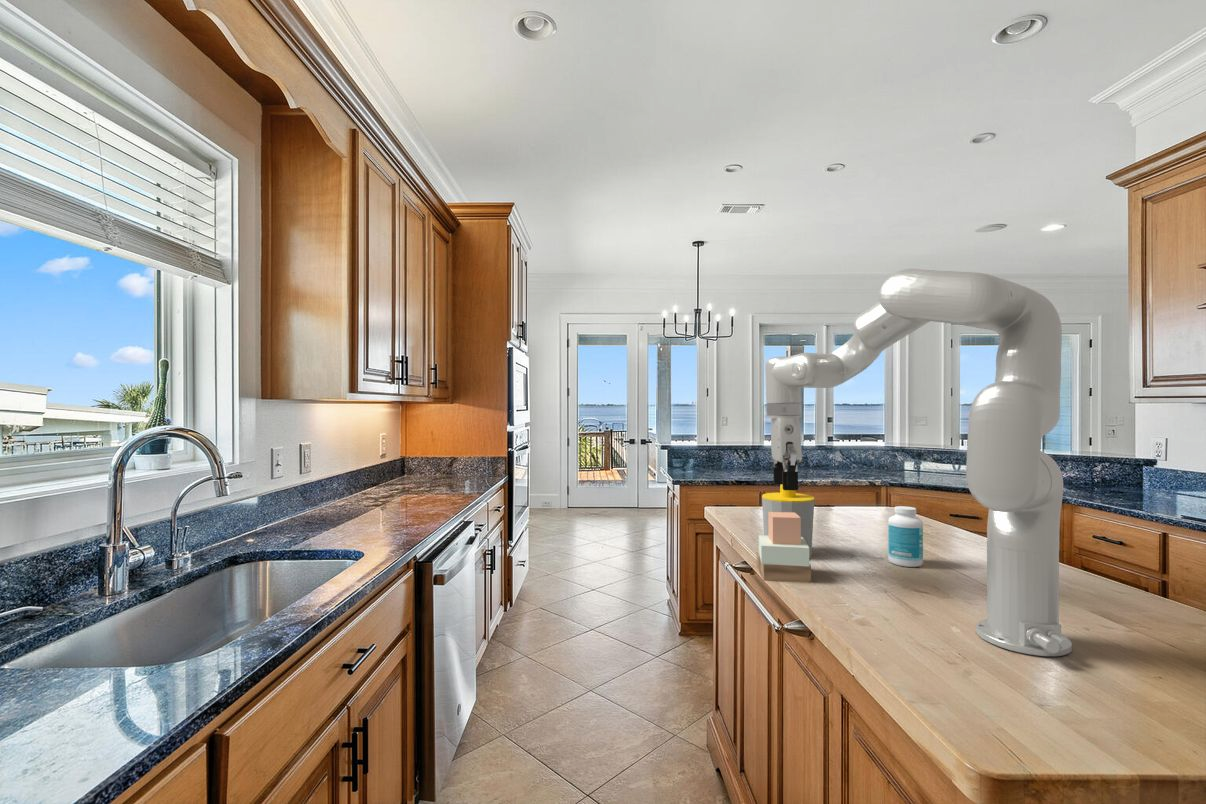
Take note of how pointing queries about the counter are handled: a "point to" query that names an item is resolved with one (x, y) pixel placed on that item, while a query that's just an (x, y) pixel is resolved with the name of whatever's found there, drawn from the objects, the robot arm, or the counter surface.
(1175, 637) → the counter surface
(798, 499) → the soap bottle
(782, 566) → the tower base
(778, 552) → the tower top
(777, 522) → the cube
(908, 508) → the pill bottle
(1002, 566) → the robot arm
